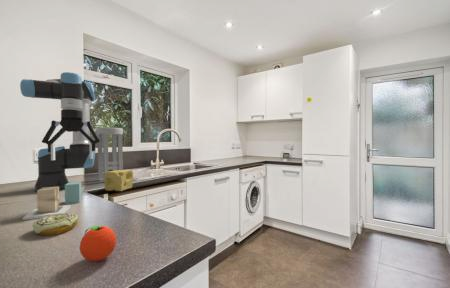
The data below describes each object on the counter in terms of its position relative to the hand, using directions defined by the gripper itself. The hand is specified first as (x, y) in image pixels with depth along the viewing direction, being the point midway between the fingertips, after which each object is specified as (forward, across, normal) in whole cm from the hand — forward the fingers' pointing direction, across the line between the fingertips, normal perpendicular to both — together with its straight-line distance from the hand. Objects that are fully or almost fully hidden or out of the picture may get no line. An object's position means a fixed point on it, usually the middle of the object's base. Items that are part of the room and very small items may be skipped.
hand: (72, 159), depth 93 cm
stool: (+18, +11, +52) cm, 56 cm away
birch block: (+18, -5, -13) cm, 22 cm away
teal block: (+18, 0, 0) cm, 18 cm away
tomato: (+19, +15, -57) cm, 62 cm away
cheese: (+18, +17, +20) cm, 32 cm away
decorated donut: (+19, +2, -33) cm, 38 cm away
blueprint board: (+18, -5, -13) cm, 23 cm away
